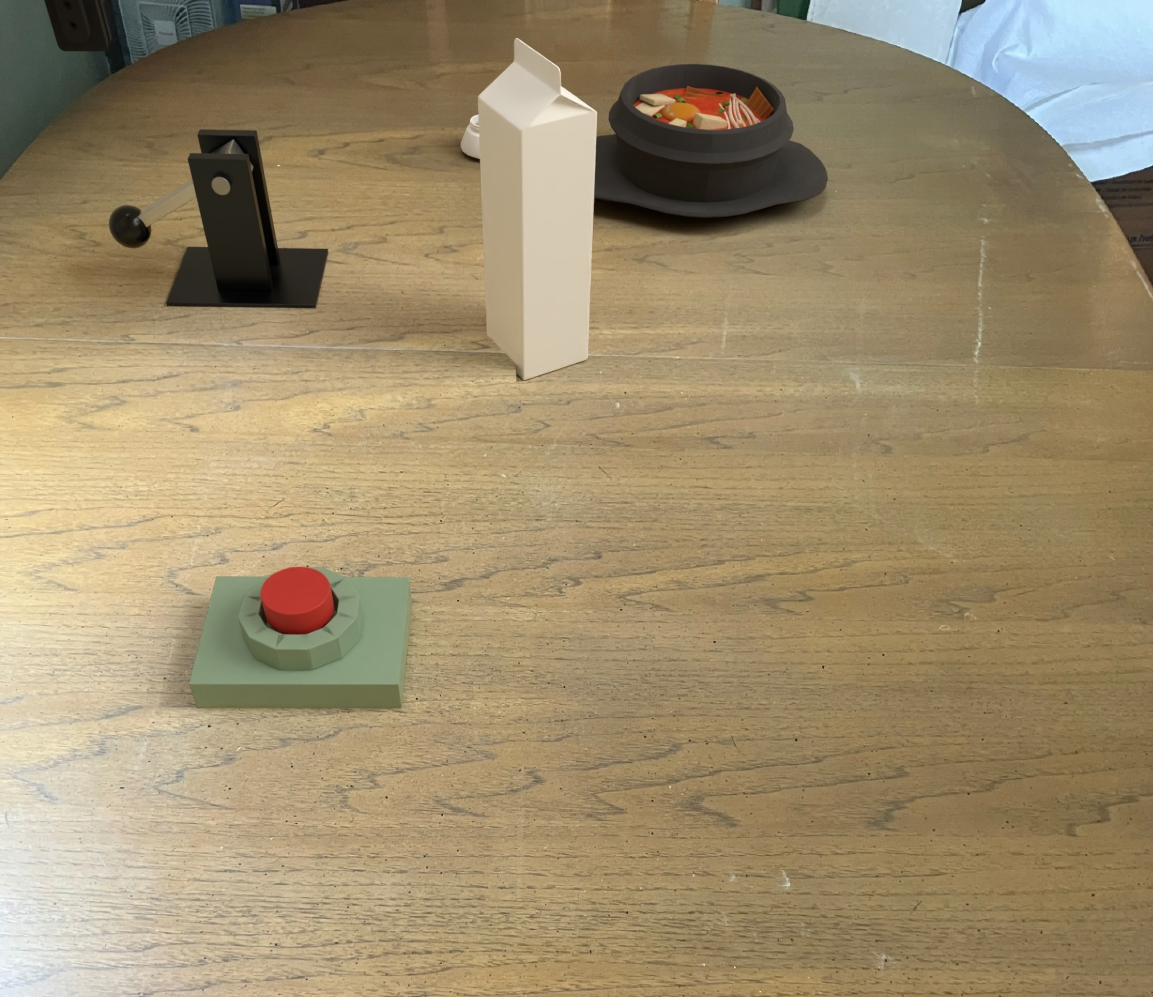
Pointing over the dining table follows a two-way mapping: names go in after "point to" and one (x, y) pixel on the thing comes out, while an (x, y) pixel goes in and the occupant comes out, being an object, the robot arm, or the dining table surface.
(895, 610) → the dining table surface
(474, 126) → the lidless jar
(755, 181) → the casserole
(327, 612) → the button
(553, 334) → the milk
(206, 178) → the bracket
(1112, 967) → the dining table surface
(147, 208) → the tap lever
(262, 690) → the button block
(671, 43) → the dining table surface
